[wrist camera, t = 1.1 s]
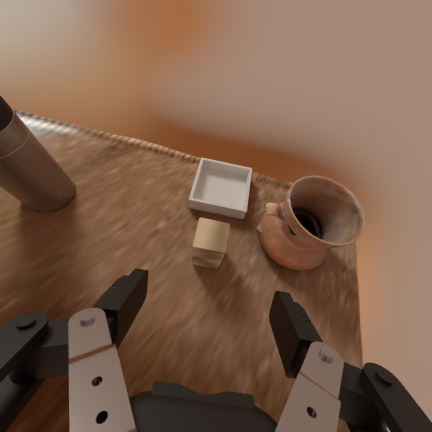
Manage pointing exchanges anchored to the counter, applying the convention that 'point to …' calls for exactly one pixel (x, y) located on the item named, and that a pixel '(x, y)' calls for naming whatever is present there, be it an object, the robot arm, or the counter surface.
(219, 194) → the tray
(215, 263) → the block
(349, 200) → the ceramic jug
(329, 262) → the counter surface
